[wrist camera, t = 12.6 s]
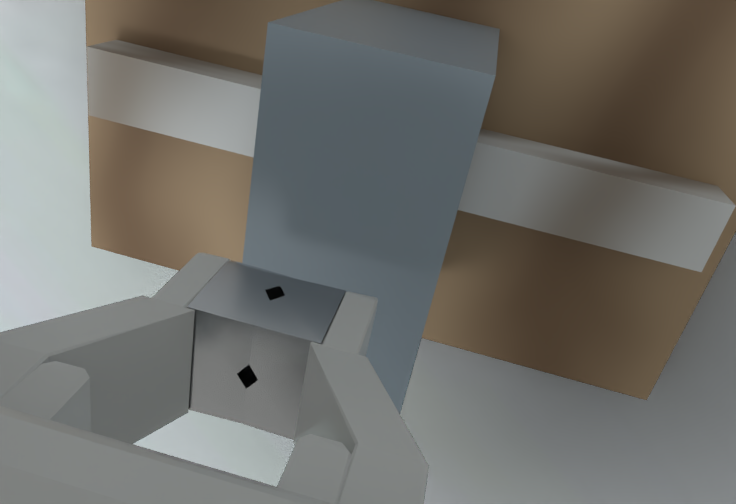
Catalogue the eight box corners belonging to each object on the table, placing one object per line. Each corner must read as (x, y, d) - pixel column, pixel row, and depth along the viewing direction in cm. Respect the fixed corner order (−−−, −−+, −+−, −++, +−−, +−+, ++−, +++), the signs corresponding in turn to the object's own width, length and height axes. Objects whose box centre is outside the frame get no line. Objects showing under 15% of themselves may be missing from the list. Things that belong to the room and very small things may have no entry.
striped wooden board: (846, -21, 15) (903, -17, 13) (640, 381, 21) (656, 431, 19) (102, -177, 17) (42, -195, 15) (107, 235, 23) (65, 264, 21)
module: (499, 28, 16) (495, 75, 10) (432, 271, 20) (399, 414, 14) (355, -4, 17) (267, 22, 11) (314, 240, 20) (230, 366, 14)
